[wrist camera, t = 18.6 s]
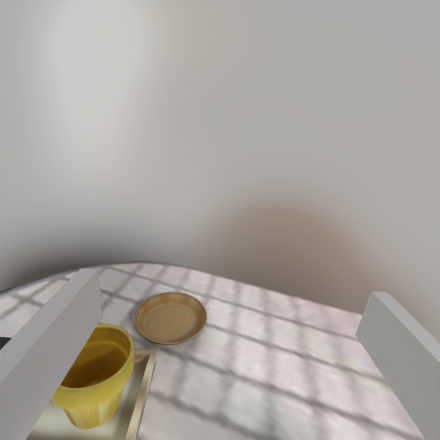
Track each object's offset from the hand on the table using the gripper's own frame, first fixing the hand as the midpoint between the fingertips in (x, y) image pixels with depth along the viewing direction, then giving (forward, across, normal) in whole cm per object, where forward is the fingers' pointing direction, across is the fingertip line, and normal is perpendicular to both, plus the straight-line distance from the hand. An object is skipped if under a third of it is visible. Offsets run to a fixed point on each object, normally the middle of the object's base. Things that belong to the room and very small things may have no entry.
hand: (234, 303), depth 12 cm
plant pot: (+14, -16, -31) cm, 37 cm away
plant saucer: (+31, -8, -32) cm, 45 cm away
